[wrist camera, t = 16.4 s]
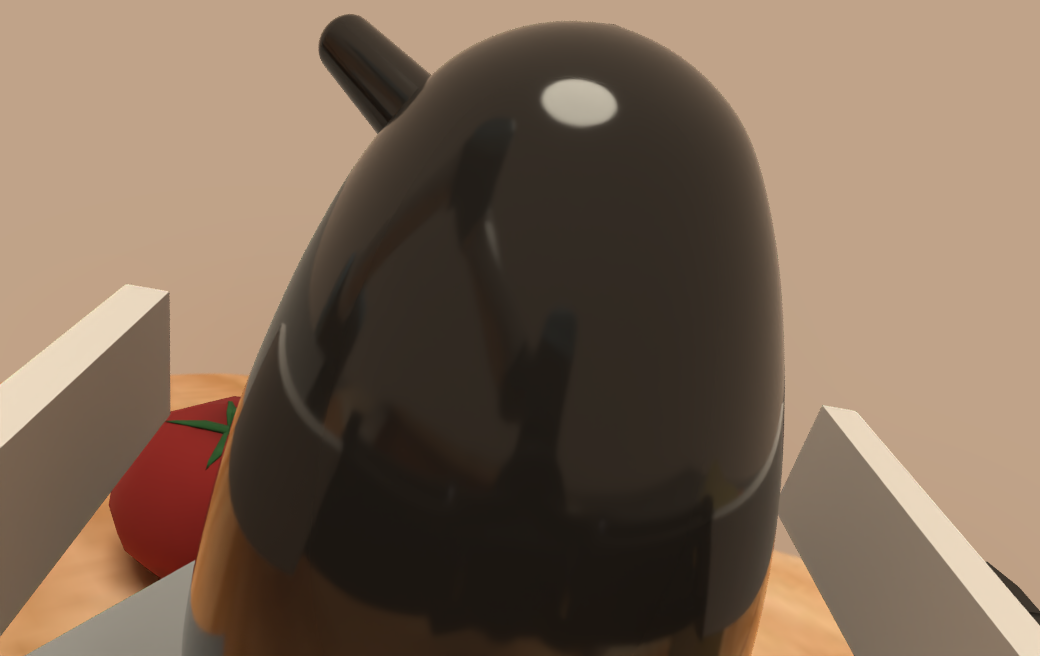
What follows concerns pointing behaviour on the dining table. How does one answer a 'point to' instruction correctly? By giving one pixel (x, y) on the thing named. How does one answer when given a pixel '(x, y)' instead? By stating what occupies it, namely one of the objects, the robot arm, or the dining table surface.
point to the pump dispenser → (512, 372)
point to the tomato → (172, 487)
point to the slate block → (132, 624)
